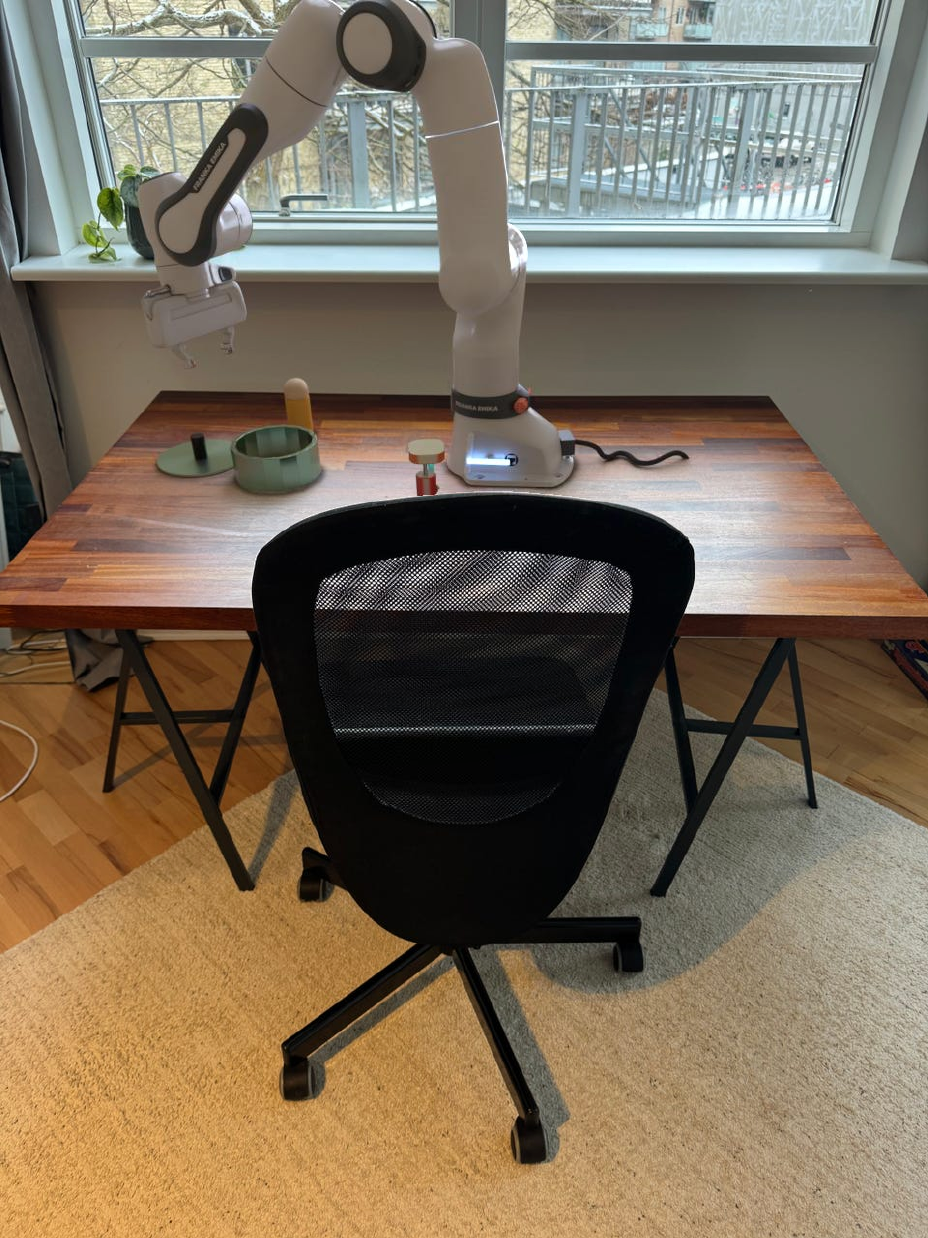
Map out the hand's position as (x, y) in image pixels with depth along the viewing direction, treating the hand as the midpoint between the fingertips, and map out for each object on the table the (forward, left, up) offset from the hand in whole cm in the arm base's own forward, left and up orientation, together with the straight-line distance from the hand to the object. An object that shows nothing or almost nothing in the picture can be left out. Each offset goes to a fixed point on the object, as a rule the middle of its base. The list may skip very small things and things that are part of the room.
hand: (209, 360), depth 158 cm
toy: (-12, -8, -16) cm, 22 cm away
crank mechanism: (-49, +25, -16) cm, 57 cm away
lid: (+1, +8, -16) cm, 17 cm away
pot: (-16, +10, -16) cm, 25 cm away
